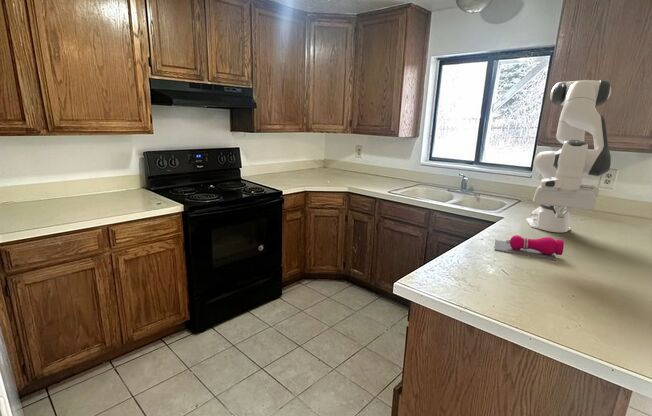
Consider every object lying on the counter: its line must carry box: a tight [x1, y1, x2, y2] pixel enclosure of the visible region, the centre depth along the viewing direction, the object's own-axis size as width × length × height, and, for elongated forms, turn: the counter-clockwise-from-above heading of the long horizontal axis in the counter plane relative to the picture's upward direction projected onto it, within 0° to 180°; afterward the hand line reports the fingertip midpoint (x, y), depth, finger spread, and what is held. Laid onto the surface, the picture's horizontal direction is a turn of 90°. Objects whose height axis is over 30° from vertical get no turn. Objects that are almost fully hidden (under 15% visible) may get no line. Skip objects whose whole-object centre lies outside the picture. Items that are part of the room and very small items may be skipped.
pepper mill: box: [505, 235, 564, 256], centre depth 143 cm, size 7×7×20 cm
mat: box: [494, 239, 557, 262], centre depth 147 cm, size 22×13×1 cm, turn 64°
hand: (559, 217), depth 139 cm, fingers closed
